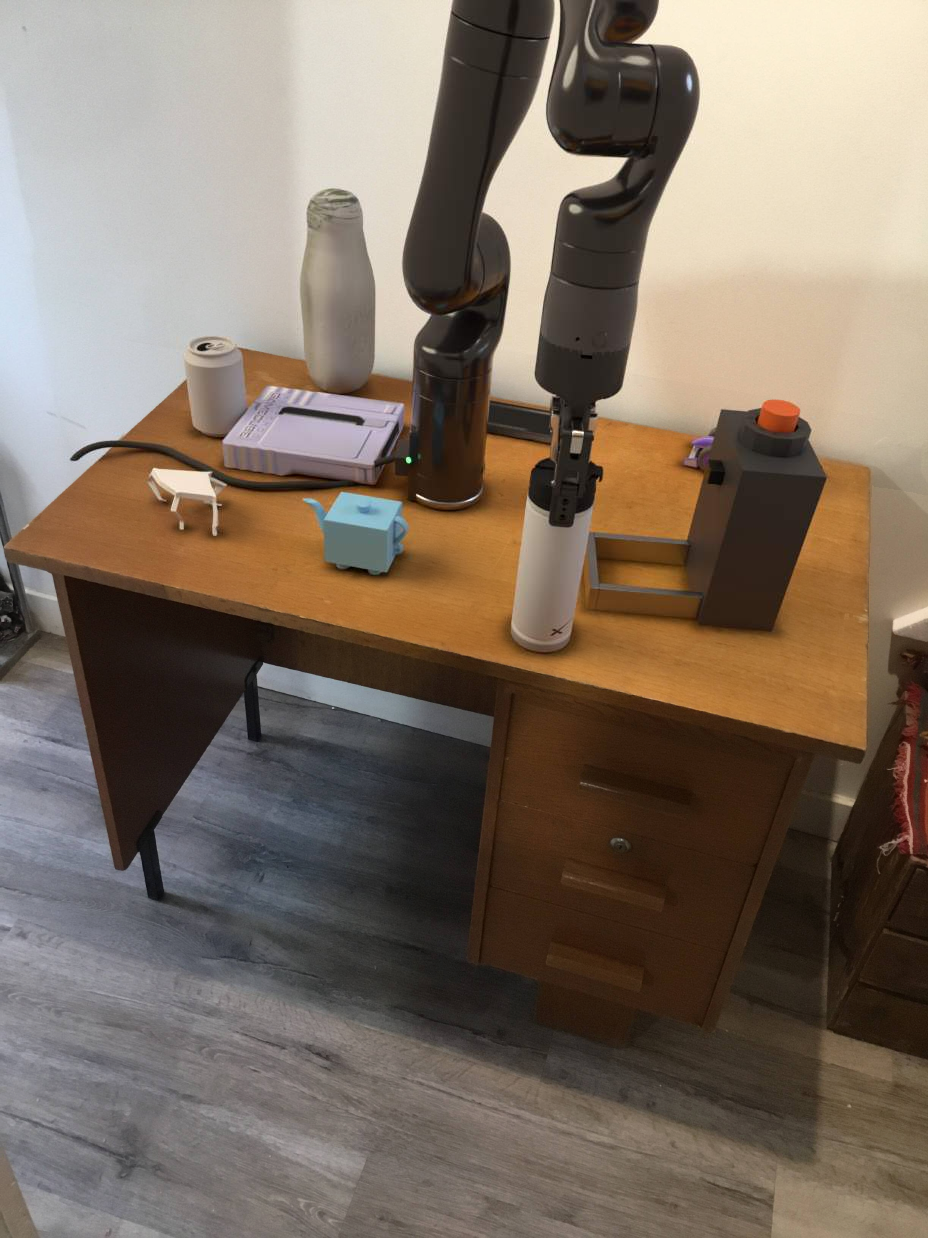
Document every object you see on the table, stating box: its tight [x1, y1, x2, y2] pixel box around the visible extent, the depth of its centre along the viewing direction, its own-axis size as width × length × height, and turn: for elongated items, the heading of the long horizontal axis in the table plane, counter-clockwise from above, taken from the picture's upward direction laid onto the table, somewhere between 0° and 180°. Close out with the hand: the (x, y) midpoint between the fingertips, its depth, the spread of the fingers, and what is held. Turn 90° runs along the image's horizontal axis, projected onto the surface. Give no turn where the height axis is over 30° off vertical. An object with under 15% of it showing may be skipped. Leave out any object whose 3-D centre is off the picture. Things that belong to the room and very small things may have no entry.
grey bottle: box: [299, 188, 377, 395], centre depth 128 cm, size 10×10×28 cm
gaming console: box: [221, 385, 405, 486], centre depth 122 cm, size 18×4×20 cm
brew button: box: [757, 399, 801, 433], centre depth 89 cm, size 4×4×2 cm
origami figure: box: [146, 467, 228, 537], centre depth 107 cm, size 12×8×5 cm
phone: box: [487, 399, 552, 445], centre depth 131 cm, size 8×1×15 cm
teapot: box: [302, 491, 409, 576], centre depth 101 cm, size 12×6×8 cm, turn 78°
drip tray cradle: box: [582, 459, 725, 620], centre depth 98 cm, size 12×11×16 cm
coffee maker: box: [684, 407, 828, 632], centre depth 96 cm, size 8×13×21 cm, turn 177°
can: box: [183, 334, 248, 438], centre depth 122 cm, size 8×8×12 cm
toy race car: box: [682, 427, 716, 472], centre depth 124 cm, size 10×15×6 cm, turn 68°
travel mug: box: [510, 456, 604, 653], centre depth 89 cm, size 6×7×20 cm
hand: (559, 499), depth 84 cm, fingers open, 8 cm apart
